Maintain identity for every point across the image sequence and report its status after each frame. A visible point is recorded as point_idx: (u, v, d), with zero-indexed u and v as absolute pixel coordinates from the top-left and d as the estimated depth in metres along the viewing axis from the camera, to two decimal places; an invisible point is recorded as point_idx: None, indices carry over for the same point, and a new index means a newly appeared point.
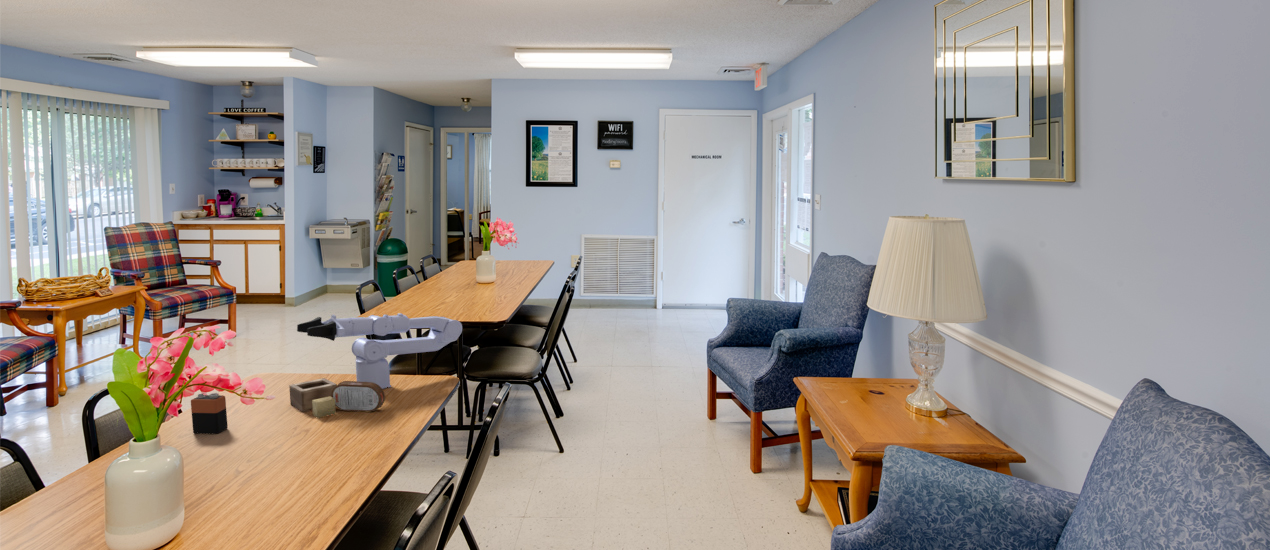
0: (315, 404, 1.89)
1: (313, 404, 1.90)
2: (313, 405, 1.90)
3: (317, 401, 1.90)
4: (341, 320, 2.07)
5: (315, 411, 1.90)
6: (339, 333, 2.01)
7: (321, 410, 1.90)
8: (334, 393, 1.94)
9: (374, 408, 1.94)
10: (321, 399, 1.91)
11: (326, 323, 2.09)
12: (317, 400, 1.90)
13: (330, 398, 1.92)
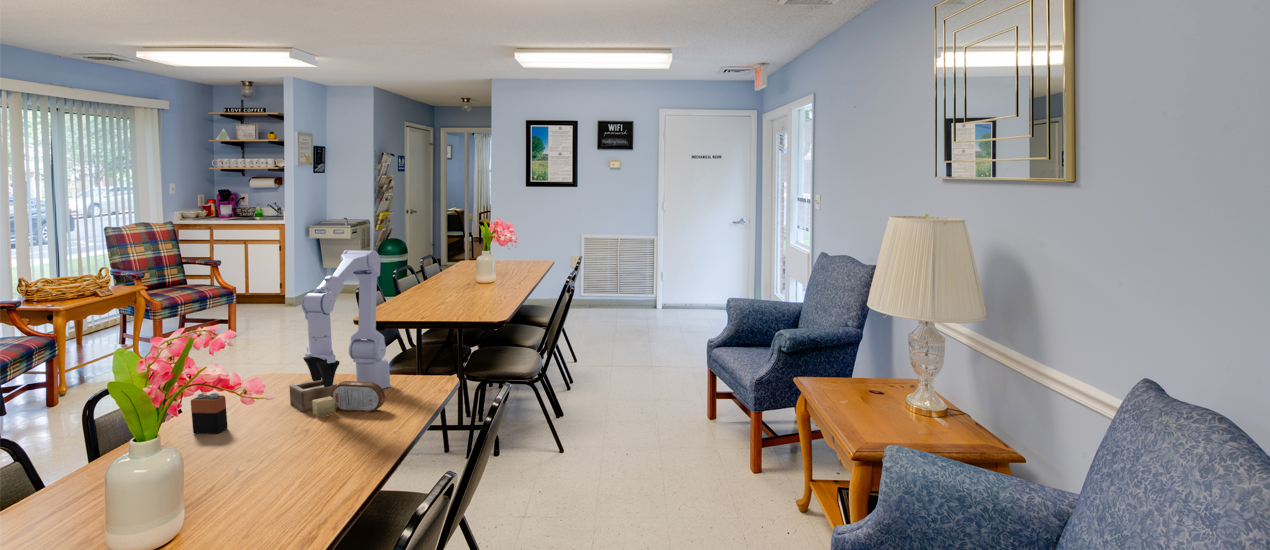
0: (315, 404, 1.89)
1: (312, 404, 1.90)
2: (313, 405, 1.90)
3: (317, 401, 1.90)
4: (313, 348, 1.87)
5: (315, 411, 1.90)
6: (333, 361, 1.85)
7: (321, 410, 1.90)
8: (334, 393, 1.94)
9: (374, 408, 1.94)
10: (321, 399, 1.91)
11: None
12: (317, 400, 1.90)
13: (330, 398, 1.92)
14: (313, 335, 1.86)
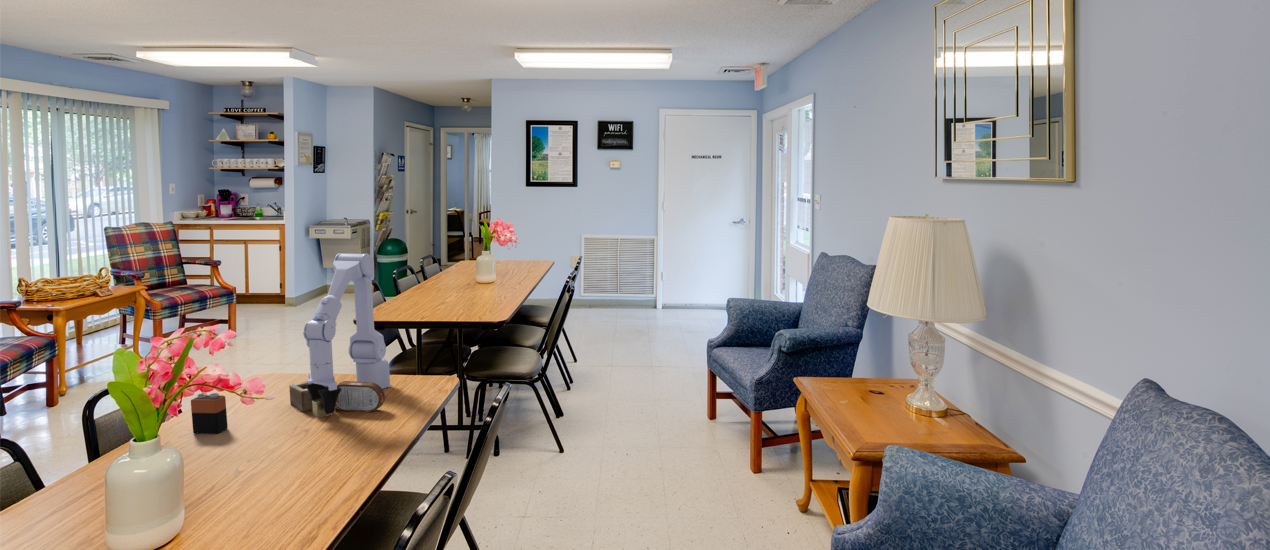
0: (315, 404, 1.89)
1: (312, 404, 1.90)
2: (313, 405, 1.90)
3: (317, 401, 1.90)
4: (314, 375, 1.88)
5: (315, 411, 1.90)
6: (334, 388, 1.86)
7: (321, 410, 1.90)
8: None
9: (374, 408, 1.94)
10: (321, 399, 1.91)
11: None
12: (317, 400, 1.90)
13: None
14: (315, 362, 1.87)
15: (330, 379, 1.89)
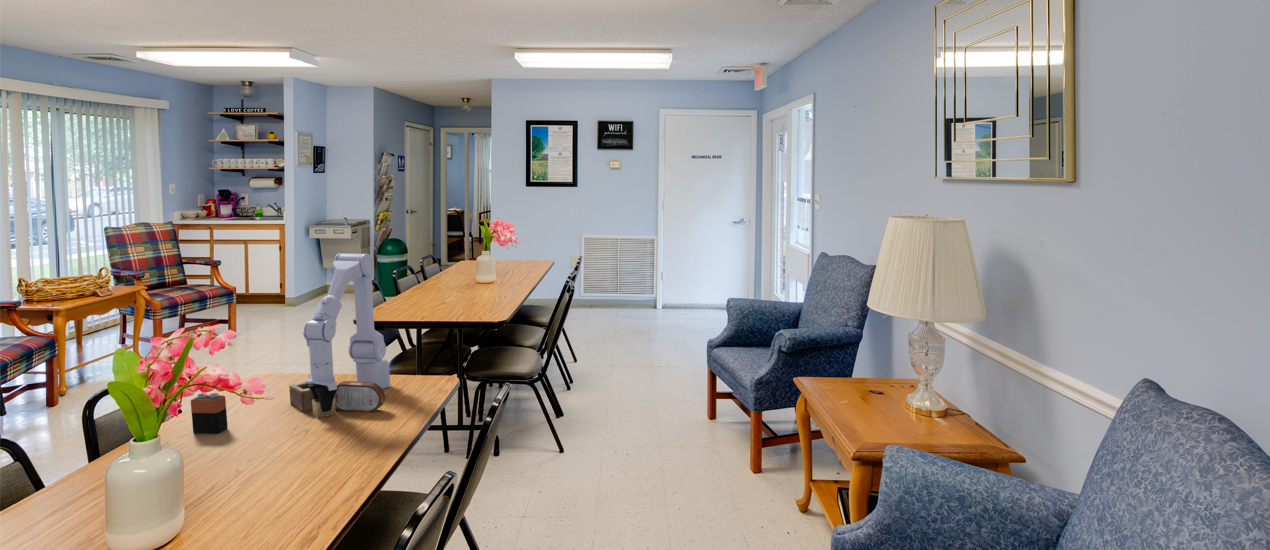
0: (315, 404, 1.89)
1: (312, 404, 1.90)
2: (313, 405, 1.90)
3: (317, 401, 1.90)
4: (314, 375, 1.88)
5: (315, 411, 1.90)
6: (334, 388, 1.86)
7: (321, 410, 1.90)
8: None
9: (374, 408, 1.94)
10: None
11: None
12: (317, 400, 1.90)
13: None
14: (315, 362, 1.87)
15: (330, 379, 1.89)
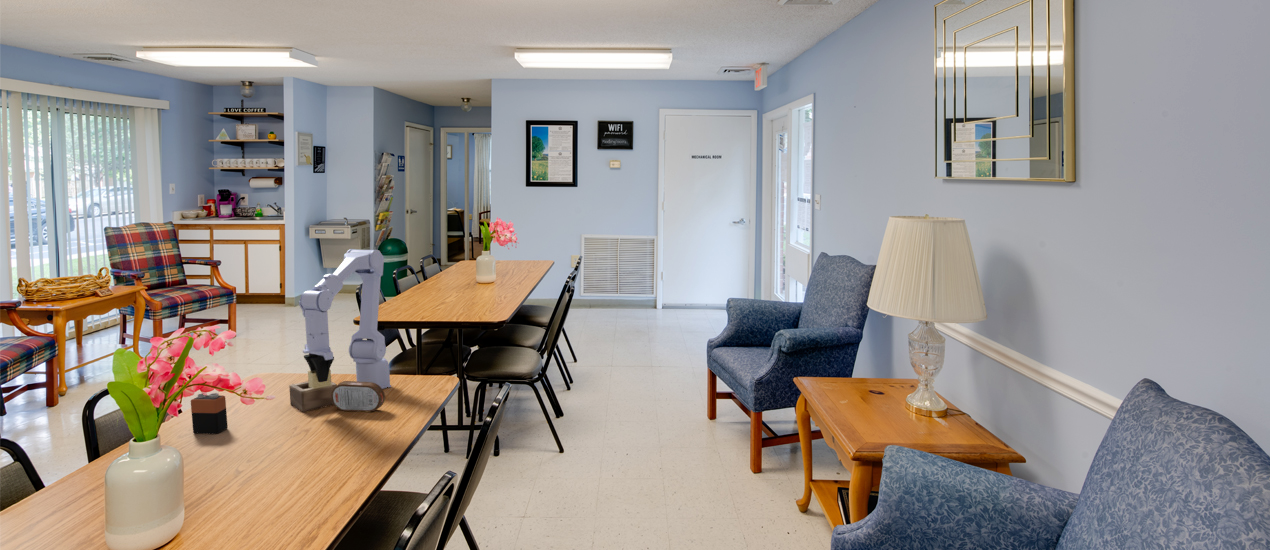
0: (311, 375, 1.90)
1: (308, 375, 1.92)
2: (309, 376, 1.91)
3: (313, 372, 1.91)
4: (311, 345, 1.89)
5: (311, 382, 1.91)
6: (331, 357, 1.87)
7: (317, 381, 1.91)
8: (334, 394, 1.94)
9: (374, 408, 1.94)
10: None
11: None
12: (313, 371, 1.91)
13: None
14: (310, 332, 1.88)
15: (326, 349, 1.91)
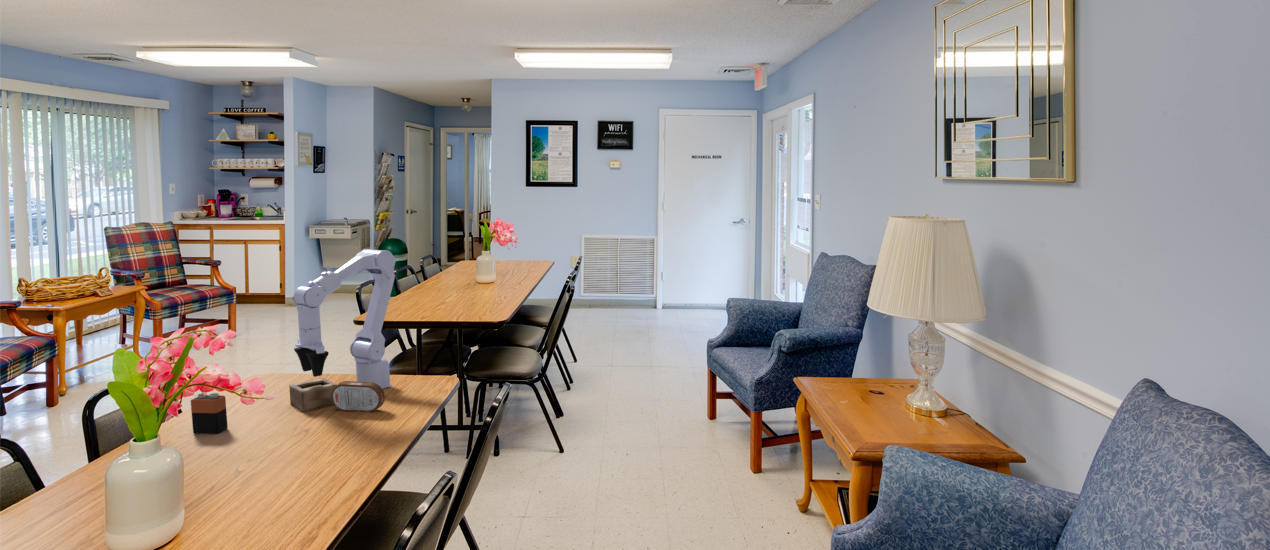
0: None
1: None
2: None
3: None
4: (303, 339, 1.95)
5: None
6: (322, 351, 1.94)
7: None
8: (334, 394, 1.94)
9: (374, 408, 1.94)
10: (311, 387, 2.00)
11: None
12: (307, 388, 1.99)
13: None
14: (300, 326, 1.95)
15: (318, 343, 1.97)
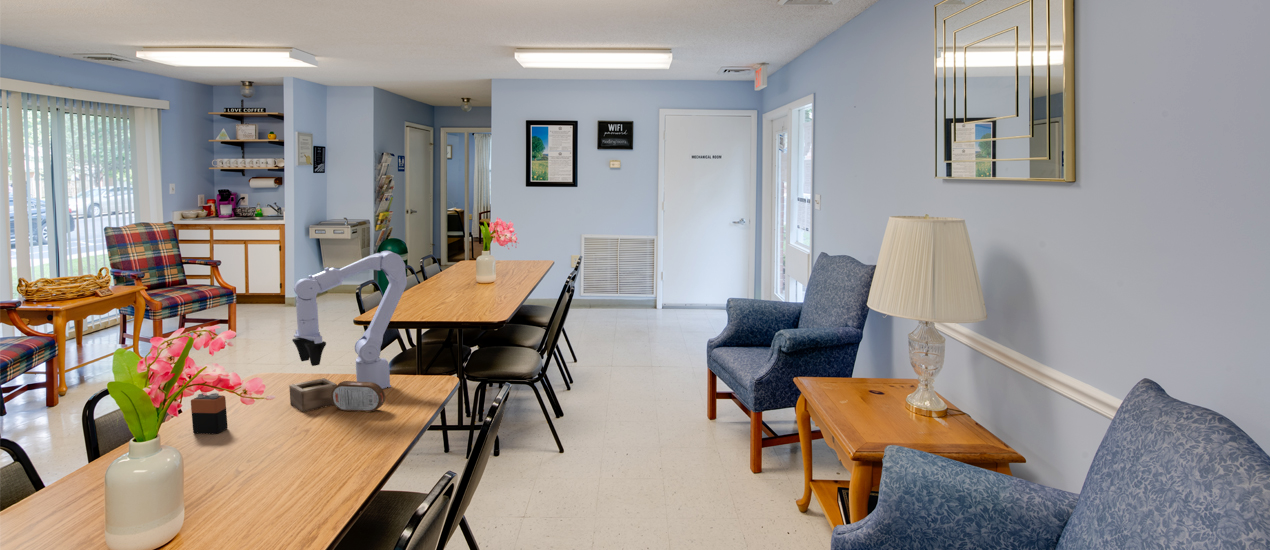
0: None
1: None
2: None
3: None
4: (301, 330, 2.03)
5: None
6: (320, 341, 2.01)
7: None
8: (334, 394, 1.94)
9: (374, 408, 1.94)
10: (311, 387, 2.00)
11: None
12: (307, 388, 1.99)
13: None
14: (297, 317, 2.04)
15: (316, 334, 2.05)
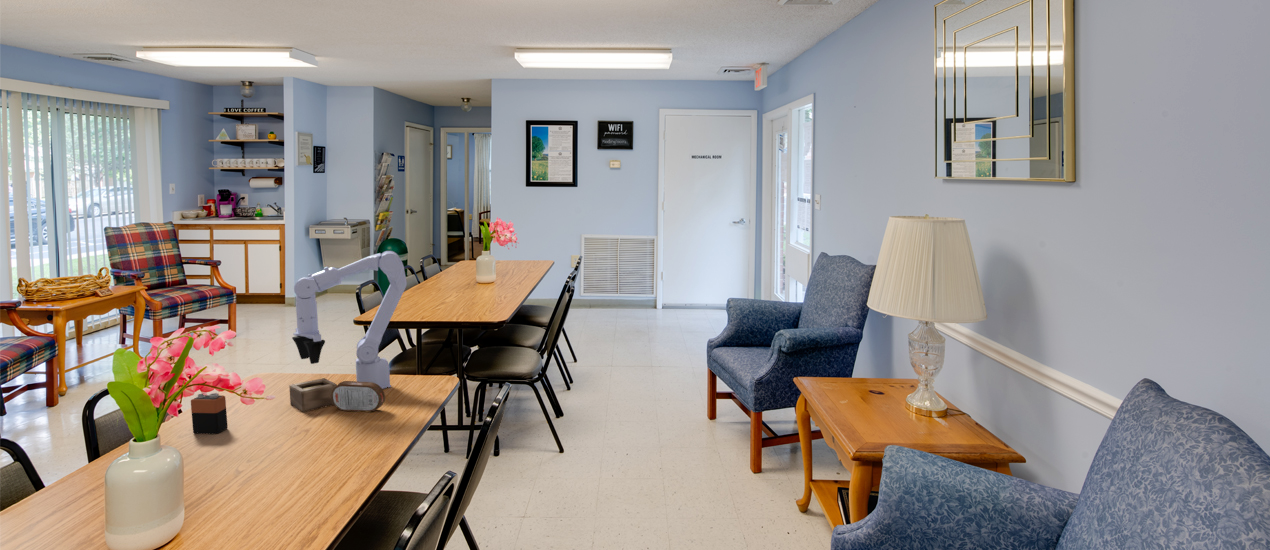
0: None
1: None
2: None
3: None
4: (301, 328, 2.05)
5: None
6: (319, 339, 2.03)
7: None
8: (334, 394, 1.94)
9: (374, 408, 1.94)
10: (311, 387, 2.00)
11: None
12: (307, 388, 1.99)
13: None
14: None
15: (315, 332, 2.07)
